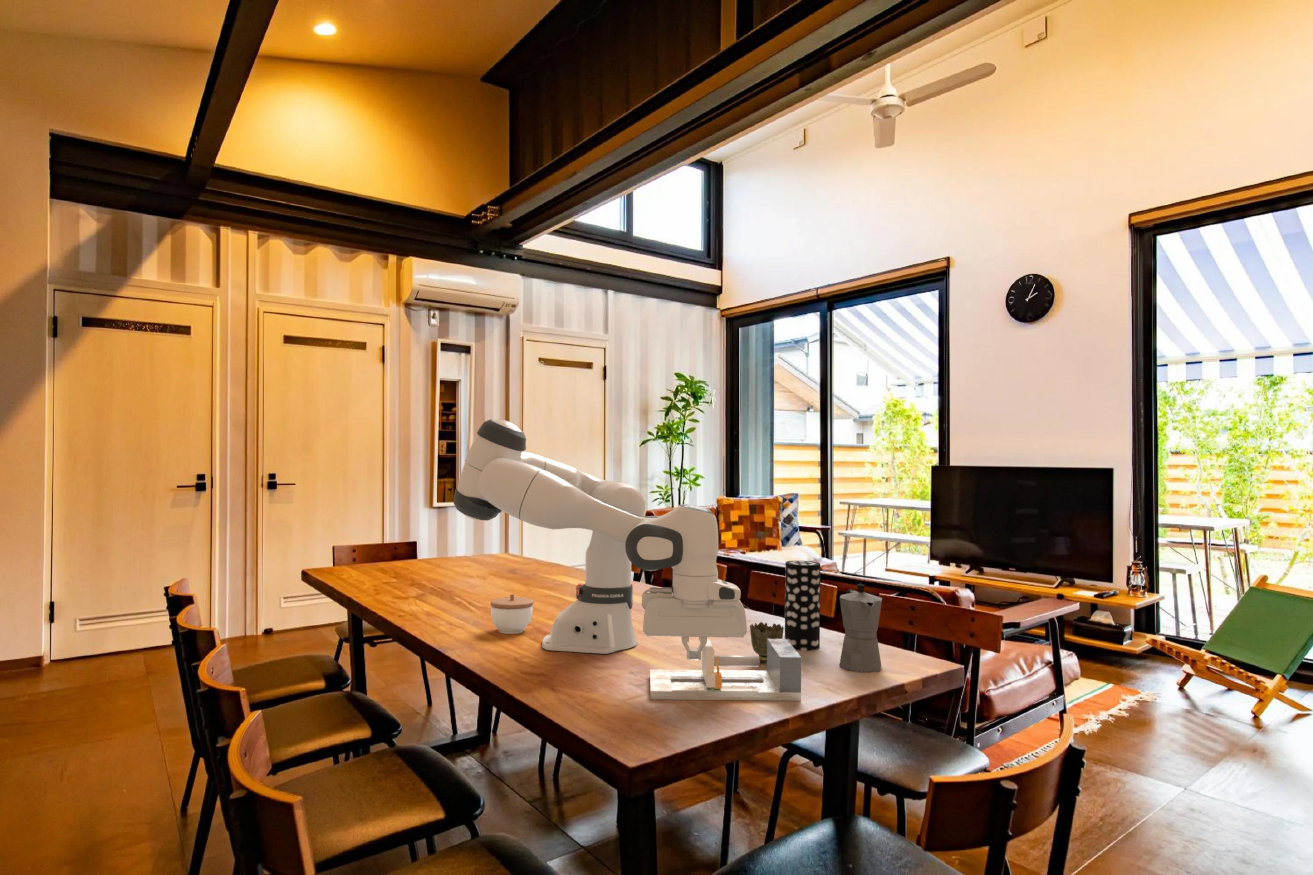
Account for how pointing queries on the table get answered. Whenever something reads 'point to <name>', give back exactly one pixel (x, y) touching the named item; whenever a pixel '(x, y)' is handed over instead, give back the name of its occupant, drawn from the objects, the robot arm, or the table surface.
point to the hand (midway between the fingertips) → (693, 659)
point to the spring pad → (722, 662)
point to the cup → (764, 638)
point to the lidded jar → (511, 614)
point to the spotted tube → (802, 604)
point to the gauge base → (736, 680)
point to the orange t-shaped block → (718, 677)
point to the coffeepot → (860, 631)
